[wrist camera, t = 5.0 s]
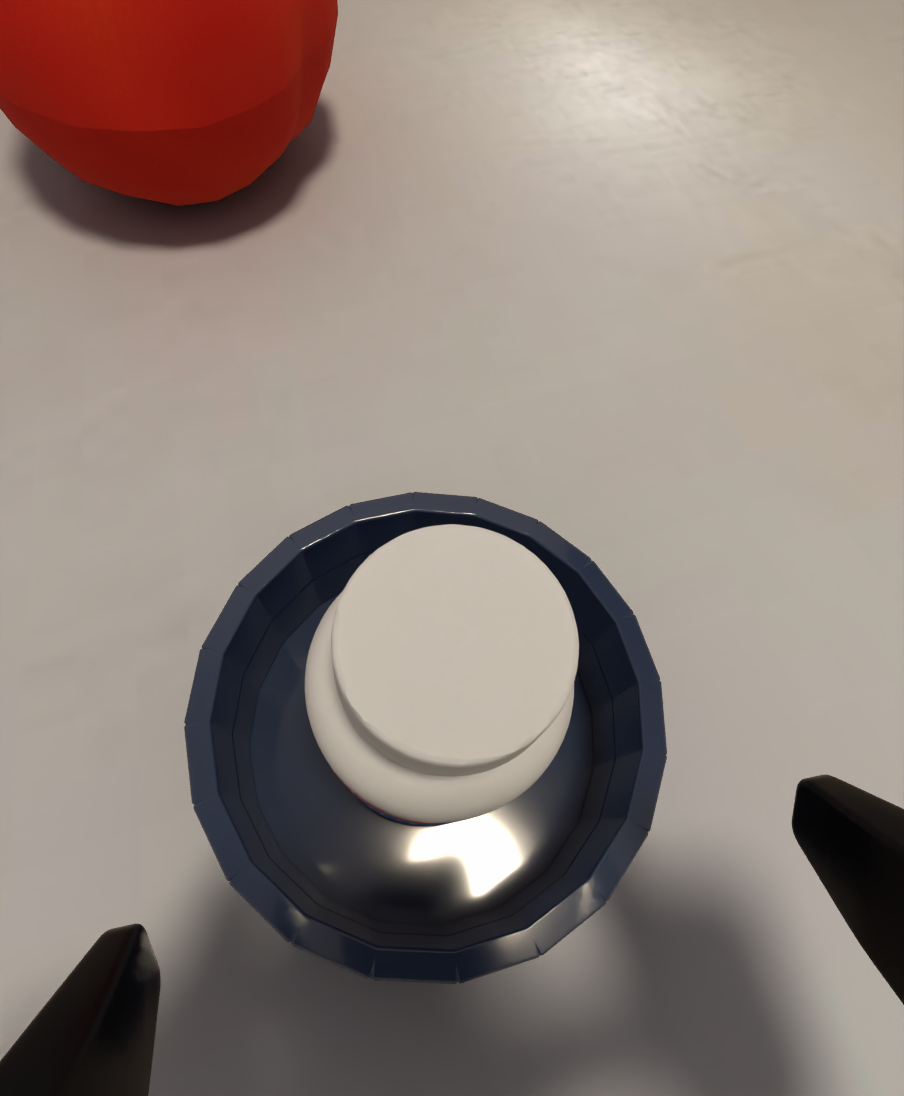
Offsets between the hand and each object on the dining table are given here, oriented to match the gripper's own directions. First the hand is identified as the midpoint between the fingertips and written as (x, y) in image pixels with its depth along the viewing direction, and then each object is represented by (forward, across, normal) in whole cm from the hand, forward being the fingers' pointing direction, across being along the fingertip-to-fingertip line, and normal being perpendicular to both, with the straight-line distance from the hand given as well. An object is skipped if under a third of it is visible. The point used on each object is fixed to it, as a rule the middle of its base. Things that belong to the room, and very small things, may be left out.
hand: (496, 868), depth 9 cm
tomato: (+29, +6, -14) cm, 33 cm away
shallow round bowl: (+10, 0, +5) cm, 11 cm away
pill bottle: (+10, 0, +5) cm, 11 cm away
